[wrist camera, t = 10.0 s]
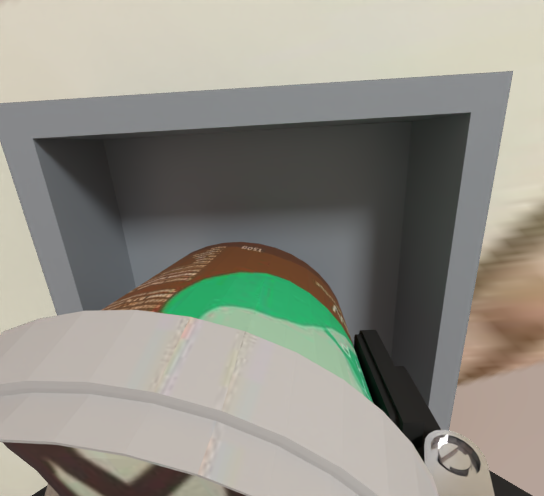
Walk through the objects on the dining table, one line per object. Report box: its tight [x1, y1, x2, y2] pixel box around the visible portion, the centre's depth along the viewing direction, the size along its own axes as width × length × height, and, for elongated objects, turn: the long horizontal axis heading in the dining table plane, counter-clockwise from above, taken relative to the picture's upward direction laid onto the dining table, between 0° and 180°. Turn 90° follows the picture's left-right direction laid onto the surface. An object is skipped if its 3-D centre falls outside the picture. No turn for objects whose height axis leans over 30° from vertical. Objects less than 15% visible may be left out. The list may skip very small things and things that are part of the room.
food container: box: [0, 242, 438, 496], centre depth 9 cm, size 12×6×10 cm, turn 27°
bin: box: [0, 71, 513, 431], centre depth 14 cm, size 15×19×5 cm
